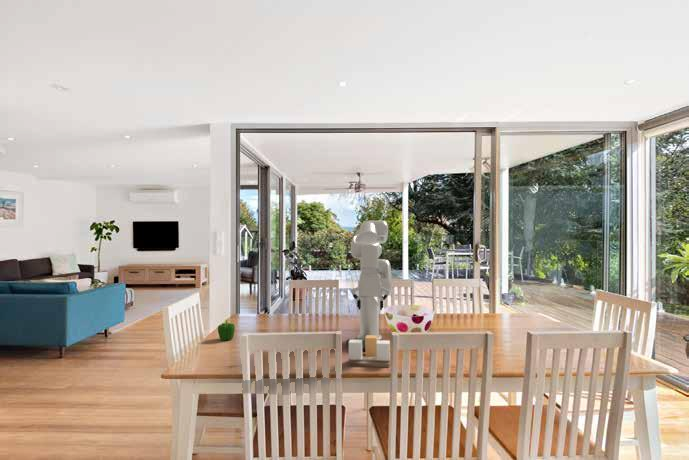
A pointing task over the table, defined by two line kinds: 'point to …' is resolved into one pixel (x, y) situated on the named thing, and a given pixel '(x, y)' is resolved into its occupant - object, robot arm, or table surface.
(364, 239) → the robot arm
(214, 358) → the table surface
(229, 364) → the table surface
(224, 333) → the bell pepper
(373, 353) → the block
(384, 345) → the rail board
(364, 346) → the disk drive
